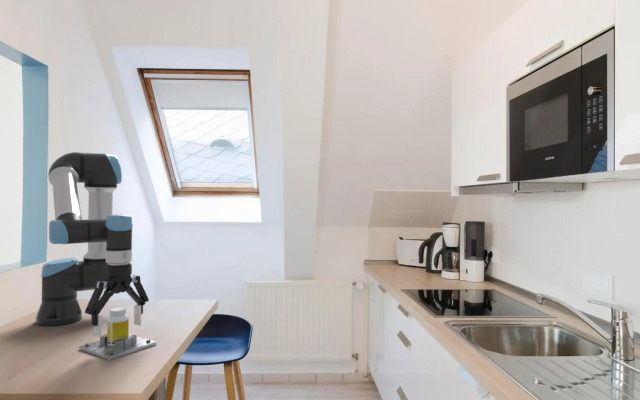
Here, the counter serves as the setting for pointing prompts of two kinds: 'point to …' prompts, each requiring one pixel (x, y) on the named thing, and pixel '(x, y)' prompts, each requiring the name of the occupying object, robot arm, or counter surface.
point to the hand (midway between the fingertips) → (118, 330)
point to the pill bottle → (117, 325)
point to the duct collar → (117, 346)
